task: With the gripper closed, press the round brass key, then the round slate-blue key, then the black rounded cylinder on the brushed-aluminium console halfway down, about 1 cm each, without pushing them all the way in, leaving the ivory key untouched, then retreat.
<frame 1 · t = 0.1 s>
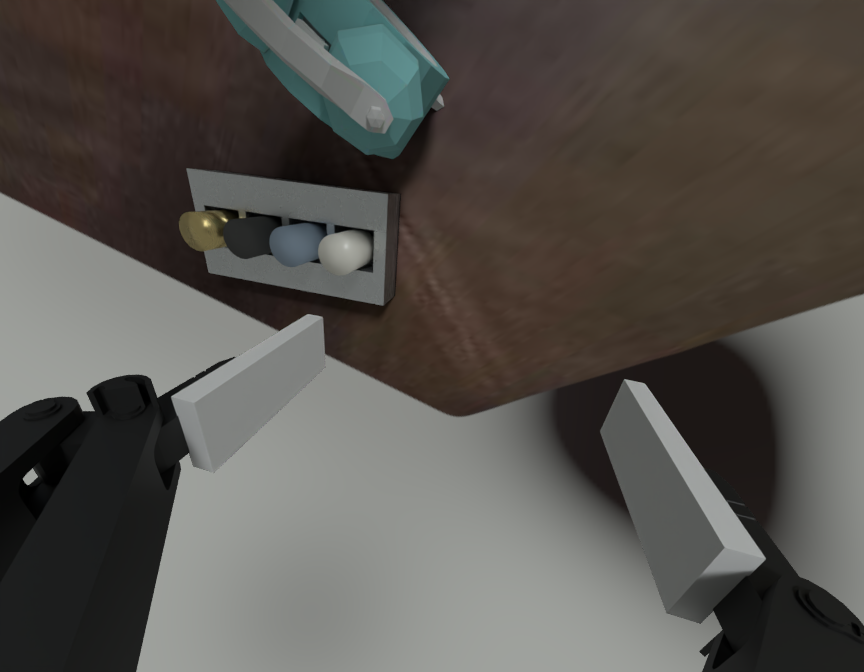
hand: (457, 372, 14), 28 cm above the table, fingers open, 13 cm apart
key slate: (302, 243, 37), point 6 cm above the table, slide at 0.0 cm
key ivory: (349, 250, 36), point 6 cm above the table, slide at 0.0 cm
alarm clock: (390, 85, 34), on the table
key brass: (216, 229, 39), point 6 cm above the table, slide at 0.0 cm
console: (307, 234, 43), on the table
black rounded cylinder: (258, 236, 38), point 6 cm above the table, slide at 0.0 cm
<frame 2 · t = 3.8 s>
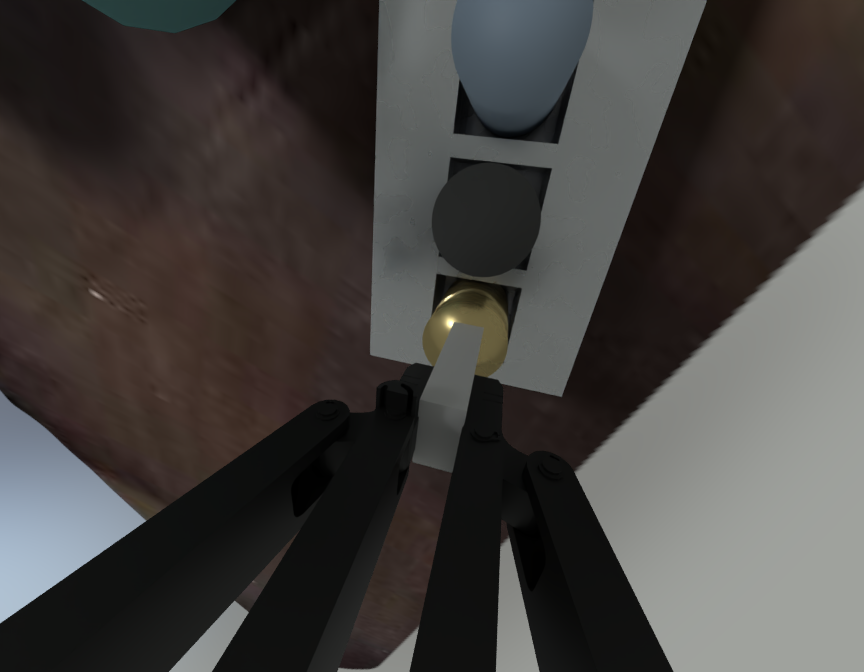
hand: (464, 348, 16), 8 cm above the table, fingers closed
key slate: (516, 62, 13), point 6 cm above the table, slide at 0.0 cm
key brass: (470, 323, 19), point 5 cm above the table, slide at 0.7 cm, touching gripper
console: (503, 158, 19), on the table
black rounded cylinder: (488, 218, 15), point 6 cm above the table, slide at 0.0 cm
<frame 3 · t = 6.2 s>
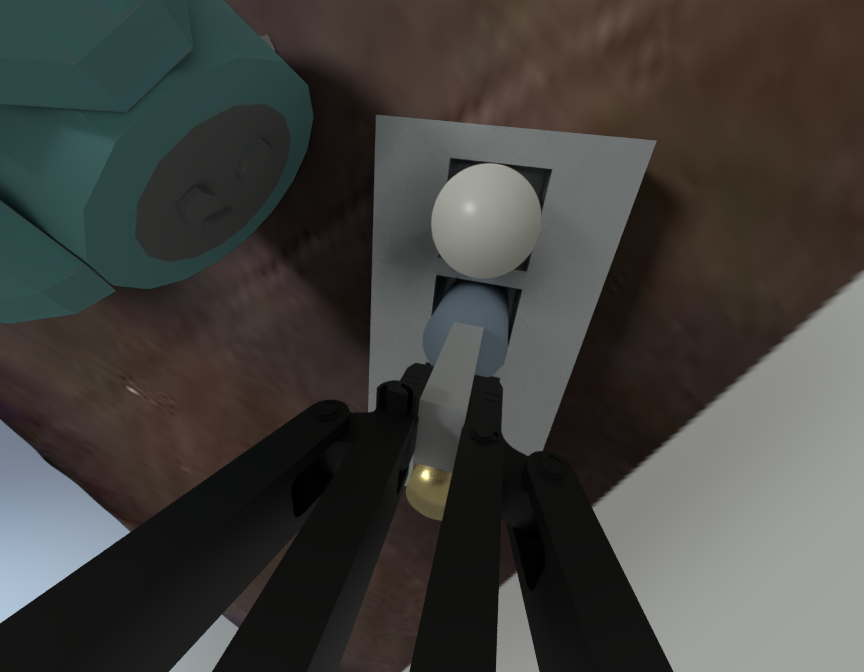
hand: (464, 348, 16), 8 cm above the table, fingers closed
key slate: (470, 323, 19), point 5 cm above the table, slide at 0.8 cm, touching gripper
key ivory: (488, 219, 15), point 6 cm above the table, slide at 0.0 cm
alarm clock: (261, 149, 22), on the table
key brass: (444, 464, 24), point 5 cm above the table, slide at 0.9 cm
console: (471, 335, 24), on the table
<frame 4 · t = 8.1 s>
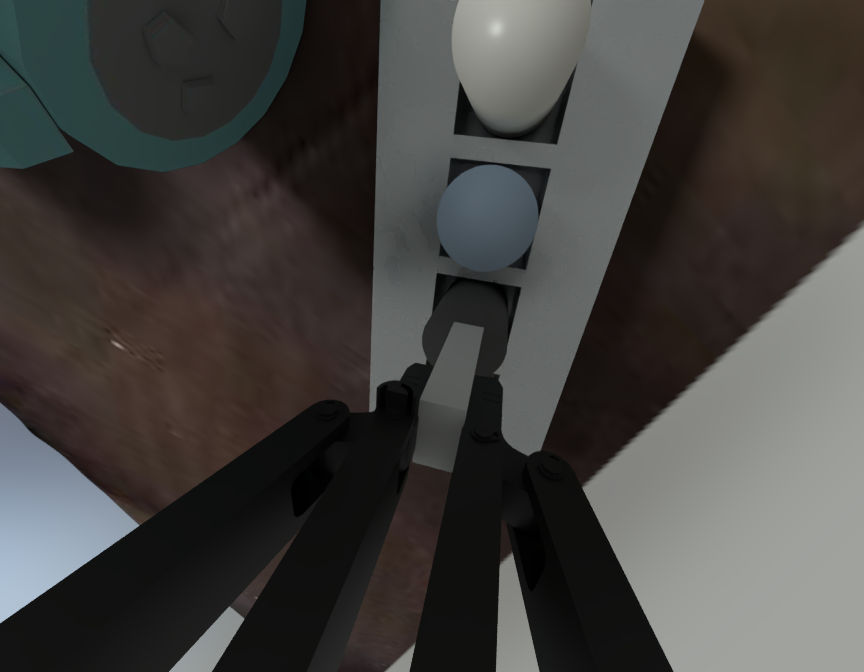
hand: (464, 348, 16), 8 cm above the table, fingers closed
key slate: (489, 216, 16), point 5 cm above the table, slide at 0.9 cm
key ivory: (516, 64, 13), point 6 cm above the table, slide at 0.0 cm
alarm clock: (251, 40, 20), on the table
key brass: (456, 399, 22), point 5 cm above the table, slide at 0.9 cm
console: (485, 256, 22), on the table
black rounded cylinder: (470, 323, 19), point 5 cm above the table, slide at 0.5 cm, touching gripper
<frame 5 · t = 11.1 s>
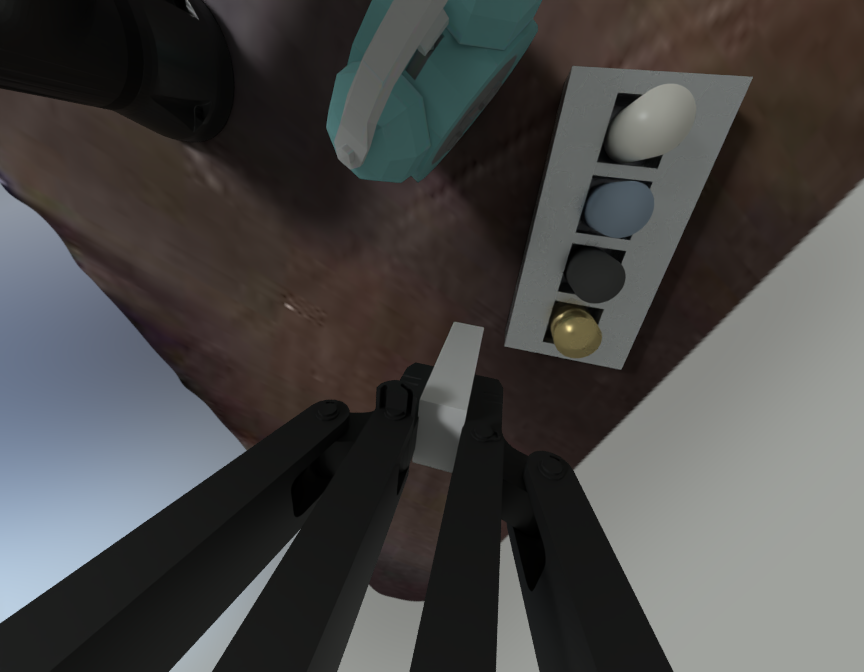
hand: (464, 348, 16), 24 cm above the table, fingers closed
key slate: (613, 208, 28), point 5 cm above the table, slide at 0.9 cm
key ivory: (643, 129, 25), point 6 cm above the table, slide at 0.0 cm
alarm clock: (452, 100, 32), on the table
key brass: (572, 327, 34), point 5 cm above the table, slide at 0.9 cm
console: (590, 235, 34), on the table
black rounded cylinder: (591, 273, 31), point 5 cm above the table, slide at 0.9 cm
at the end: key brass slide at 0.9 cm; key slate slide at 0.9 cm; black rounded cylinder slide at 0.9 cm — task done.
